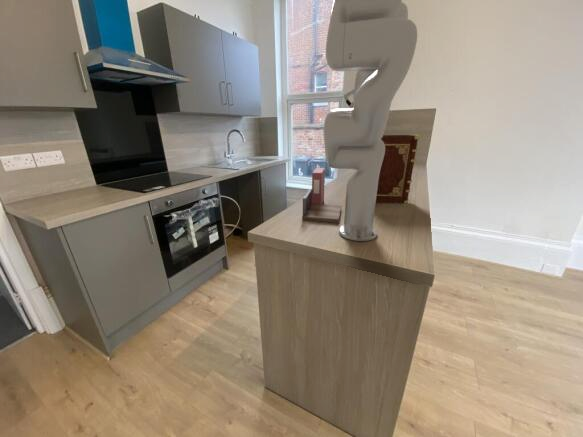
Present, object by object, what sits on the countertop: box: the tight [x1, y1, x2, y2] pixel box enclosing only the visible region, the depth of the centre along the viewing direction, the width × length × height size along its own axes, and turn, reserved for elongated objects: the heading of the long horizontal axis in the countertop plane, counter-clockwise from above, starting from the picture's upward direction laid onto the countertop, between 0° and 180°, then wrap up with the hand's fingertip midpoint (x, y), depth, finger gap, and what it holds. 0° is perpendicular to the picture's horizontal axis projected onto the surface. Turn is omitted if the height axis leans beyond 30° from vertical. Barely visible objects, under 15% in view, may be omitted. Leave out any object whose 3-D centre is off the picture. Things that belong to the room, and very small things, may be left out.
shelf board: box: [301, 203, 342, 225], centre depth 100 cm, size 16×14×2 cm
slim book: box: [311, 167, 326, 205], centre depth 111 cm, size 12×4×16 cm, turn 166°
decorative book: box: [376, 134, 420, 205], centre depth 111 cm, size 22×8×30 cm, turn 84°
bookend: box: [302, 188, 312, 216], centre depth 100 cm, size 14×1×7 cm, turn 166°
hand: (365, 118), depth 91 cm, fingers open, 9 cm apart
